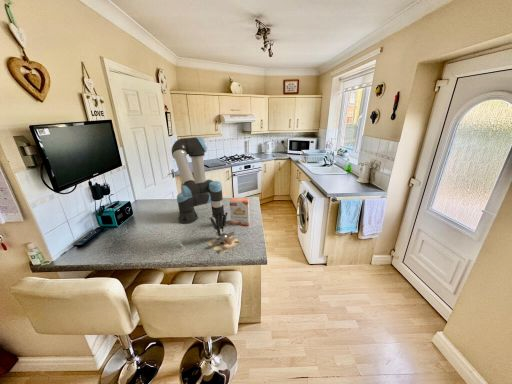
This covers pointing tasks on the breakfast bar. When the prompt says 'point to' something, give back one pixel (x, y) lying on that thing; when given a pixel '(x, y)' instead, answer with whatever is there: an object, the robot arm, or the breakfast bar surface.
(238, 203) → the cracker box
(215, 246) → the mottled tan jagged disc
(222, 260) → the breakfast bar surface
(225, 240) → the capstan
